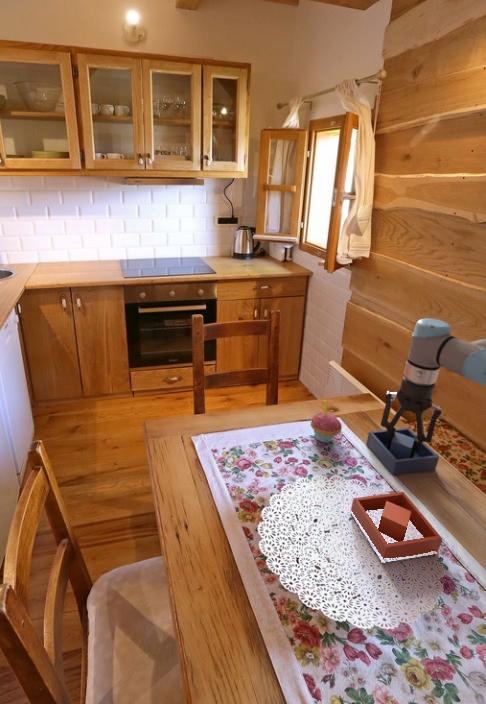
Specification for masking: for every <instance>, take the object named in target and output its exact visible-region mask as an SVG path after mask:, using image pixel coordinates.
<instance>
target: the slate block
mask: <svg viewBox="0 0 486 704" xmlns="http://www.w3.org/2000/svg"><path fill="white" fill-rule="evenodd" d="M413 442H414V438H412V437H409V436H406V435H403V434H400V433H398V432H395V435H394V437H393V439H392V442H391V446H390V450H389V451H390V453H391V454H392V455H393V456H394V457H395V458H396V459H406V458H410V454H411V450H412V447H413Z"/></svg>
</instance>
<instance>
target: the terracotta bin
mask: <svg viewBox="0 0 486 704" xmlns="http://www.w3.org/2000/svg"><path fill="white" fill-rule="evenodd" d="M387 501H388V502H391V503H393V504H395V505H397V506H400V507H402V508H404V509H406V510H409V511H411V515H410V519H409V520H410V521H411V522H412V524H413V525H414V526H415V527H416V529H417V530H418V531H419V532H420V533H421V534H422V535H423V537H424V538H420V539H413V540H407V541H401V542H394V543H388V544H387V542H386V541H385V539H384V538H383V536H382V535H381V533H380V532H379V530H378V529H377V527H376V526H375V524H374V523H373V521H372V520H371V518H370V517H369V515H368V514H367V513H366V511H367V510H368V511H369V510H377V509H384V507H385V505H386V502H387ZM351 511H352V512H353V514H354V515H355V517H356V518H357V520H358V521H359V523H360V524H361V526H362V527H363V529H364V530H365V532H366V533H367V535H368V536H369V538H370V540H371V541H372V543H373V544H374V546H375V547H376V549H377V550H378V552H379V553H380V554H381V556H382V557H383V559H384V558H396V557H397V558H398V557H406V556H413V555H418V554H423V553H428V552H431V551H436V552H437V554H438V553H439V549H440V546H441V544H442V540H443V537H442V536H441V535H440V534H439V532H438V531H437V530H436V529H435V528H434V527H433V525H432V524H431V522H429V520H428V519H427V518H426V517H425V516H424V514H423V513H422V512H421V511H420V510H419V509H418V507H417V506H416V505H415V504H414V503H413V501H412V500H411V499H410V498H409V497H408V495H407V494H406V493H405V492H404V491H399V492H392V493H391V492H390V493H384V494H376V495H367V496H360V497H353V498H352V503H351V507H350V512H351Z"/></svg>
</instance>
